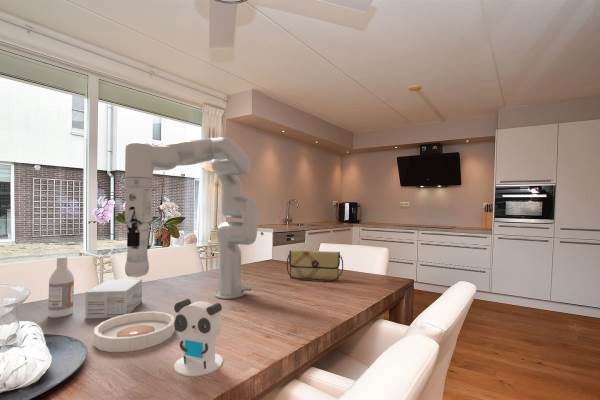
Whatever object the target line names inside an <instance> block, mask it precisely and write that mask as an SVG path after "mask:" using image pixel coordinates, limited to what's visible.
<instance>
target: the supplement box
mask: <svg viewBox="0 0 600 400" xmlns="http://www.w3.org/2000/svg"><path fill="white" fill-rule="evenodd" d="M84 301H85V302H84V303H85V304H84V305H85V308H84V309H85V310H84V311H85V312H84V316H85V317H84V318H85V319H105V318H108V319H110V318H113V317H117V316H121V315H125V314H130V313H132V312H133V311H134V310H135V309H134V308H135V307H136V306H137V307H138V306H139V305H140V304H141V303H142V302H143V279H142V278H135V279H134V278H133V279H127V278H126V279H106V280H105V281H103V282H101V283H99V284H98V285H96V286H95V287H92V288H91V289H88V290H87V291H86V292H85V300H84Z"/></svg>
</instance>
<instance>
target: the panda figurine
mask: <svg viewBox="0 0 600 400" xmlns="http://www.w3.org/2000/svg"><path fill="white" fill-rule="evenodd" d="M173 309H174V312H175V313H176V316H175V317H174V319H175V322H174V327H175V332H176V333H177V335H178V337H179V338H180V342H179V348H180V350H182V351H183V356H181V357H180V358H179V359H177V360H176V361H175V363H174V366H173V370H174V371H175V372H176V373H177V374H179V375H180V376H184V377H199V376H200V377H201V376H205V375H208V374H211V373H213V372H215V371H217V370H218V369H219V368H220V367H222V365H223V357H222V356H221V354H218V353H217V352H216V338H217V337H218V336H219V334H220V332H221V330H222V318H221V317H222V316H221V313H220V312H221V311H222V309H223V308H222V304H221V303H219V302H216V303H214V304H213V303H211V302H207V301H201V300H199V301H195V302H191V299H189V298H185V299H183V300H181V301H178V302H175V304H174V306H173Z"/></svg>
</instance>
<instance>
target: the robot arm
mask: <svg viewBox="0 0 600 400" xmlns="http://www.w3.org/2000/svg"><path fill="white" fill-rule="evenodd" d="M124 154H125V156H124V162H125V163H124V190H126V194H125V202H124V203H125V206H124V219H125V224H126V225H127V234H126V246H127V248H128V247H138V246H139V245H140V232H138V231H139V225H140V222H141V223H145V222H148V223H150V222H153V218H154V217H153V215H154V214H153V212H154V211H153V210H154V209H153V194H152V190H154V172H155V171H169V170H173V169H175V168H176V167H178V166H193V165H196V164H201V163H205V162H206V163H207V162H209V161H211V168H212V170H213V172H214V173H215V174H216V175H217V177H218V179H219V181H220V183H221V186H222V187H221V190H222V193H221V195H222V196H221V214H222V215H223V216H224V218H227V219H237V220H240V219H241V221H229V220H228V221H224V222H221V223H220V224H219V225H218V226H217V229H216V239H217V242H218V283H217V284H218V286H217V287H218V288H217V290H215V292H214V294H213V295H214V297H215V298H218V299H223V300H229V299H238V298H241V297H243V296H245V291H247V292H250V291H252V286H251V285H244V284H243V282H242V251H241V248H240V246H239V245H244V246H245V245H246V246H248V245H253V244H254V243H255V242H256V239H257V236H258V225H259V224H258V221H259V220H258V219H259V207H258V202H257V201H256V199H255V198H253V197H252V196H243V184H242V181H241V179H240V177H239V176H244V175H247V174H248V173H249V172H250V169H251V161H250V158H249V156H248V154H246V152H244V151H243V149H242V148H241V147H240V146H239V145H238V144H237V143H236V142H235V141H234V140H233V139H231V138H230V137H228V136H221V137H208V138H202V139H196V140H195V139H194V140H186V141H180V142H175V143H170V144H163V145H153V144H150V143H146V142H141V141H139V142H138V141H132V142H128V143H126V146H125V153H124ZM133 220H137V221H133ZM135 225H136V227H135Z"/></svg>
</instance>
